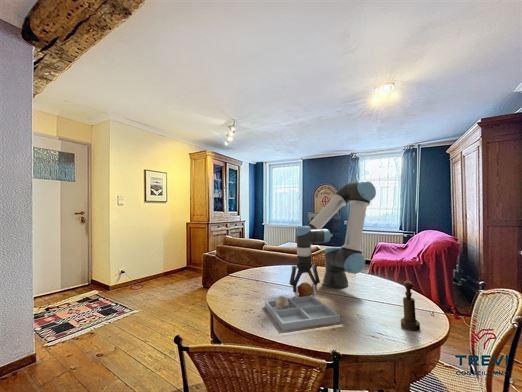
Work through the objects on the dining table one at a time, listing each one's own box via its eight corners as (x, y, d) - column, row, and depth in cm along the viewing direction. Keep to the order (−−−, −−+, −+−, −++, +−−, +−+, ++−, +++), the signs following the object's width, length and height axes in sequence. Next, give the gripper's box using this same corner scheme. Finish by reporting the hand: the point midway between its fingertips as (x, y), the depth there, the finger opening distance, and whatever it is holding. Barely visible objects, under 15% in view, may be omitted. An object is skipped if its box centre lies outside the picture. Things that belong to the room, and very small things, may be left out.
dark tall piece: (397, 324, 102) (395, 279, 103) (412, 323, 102) (410, 278, 103) (408, 332, 95) (405, 283, 96) (424, 331, 96) (421, 283, 97)
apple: (303, 294, 139) (302, 279, 140) (315, 297, 133) (315, 282, 134) (294, 297, 134) (294, 282, 134) (307, 301, 128) (307, 285, 128)
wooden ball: (286, 306, 119) (285, 293, 119) (290, 311, 113) (290, 298, 114) (274, 308, 118) (273, 295, 118) (278, 313, 112) (277, 299, 112)
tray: (312, 302, 126) (312, 295, 127) (340, 324, 102) (340, 315, 103) (264, 308, 120) (264, 301, 120) (282, 333, 96) (282, 323, 96)
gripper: (319, 252, 141) (320, 293, 140) (282, 255, 136) (283, 297, 134) (325, 254, 134) (327, 297, 133) (287, 257, 128) (288, 302, 127)
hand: (305, 297), depth 134 cm, fingers open, 9 cm apart
